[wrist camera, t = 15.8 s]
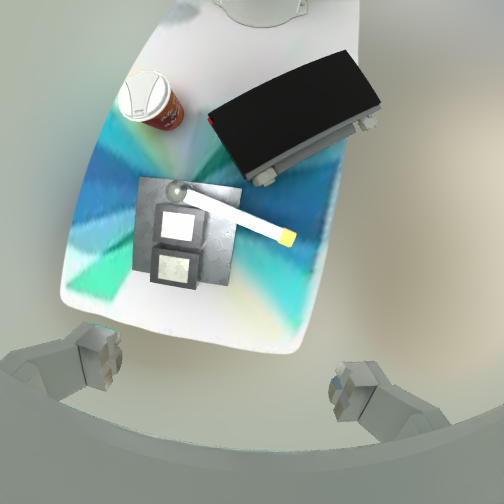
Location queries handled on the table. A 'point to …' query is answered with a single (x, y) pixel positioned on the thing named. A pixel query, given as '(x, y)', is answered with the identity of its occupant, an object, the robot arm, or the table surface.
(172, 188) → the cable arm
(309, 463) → the robot arm
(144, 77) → the paper cup
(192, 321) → the table surface
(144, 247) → the tray
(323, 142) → the electrical component
